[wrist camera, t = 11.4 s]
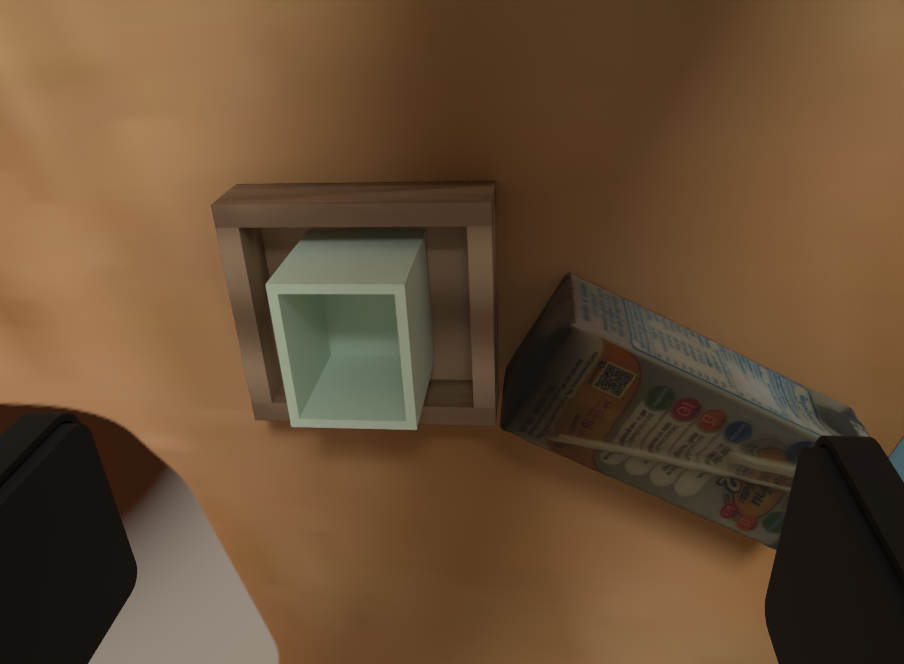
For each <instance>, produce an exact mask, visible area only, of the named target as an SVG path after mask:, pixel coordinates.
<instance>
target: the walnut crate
mask: <svg viewBox="0 0 904 664" xmlns="http://www.w3.org/2000/svg"><path fill="white" fill-rule="evenodd" d="M211 208H212V213H213V218H214V222H215V227H216V232H217V237H218V242H219V247H220V252H221V256H222V261H223V266H224V271H225V276H226V281H227V286H228V290H229V295H230V300H231V305H232V310H233V315H234V320H235V324H236V329H237V334H238V339H239V344H240V349H241V354H242V358H243V363H244V368H245V373H246V378H247V383H248V387H249V392H250V397H251V402H252V407H253V412H254V417H255V420H276V421H290V417H289V412H288V406H287V401H286V395H285V390H284V384H283V379H282V373H281V368H280V362H279V357H278V351H277V346H276V340H275V335H274V329H273V324H272V318H271V313H270V307H269V302H268V296H267V291H266V285H265V284H266V283H267V282H268V280H269V279H270V278H271V276H272V275H273V274H274V273H275V271H276V270H277V269H278V268H279V266H280V265H281V264H282V263H283V261H284V260H285V259H286V257H287V256H288V255H289V254H290V252H291V251H292V250H293V249H294V247H295V246H296V245H297V243H298V242H299V241H300V240H301V238H302V237H303V236H304V235H305V233H306V232H307V231H346V230H426V240H427V255H428V270H429V285H430V300H431V315H432V330H433V345H434V363H433V367H432V371H431V375H430V379H429V383H428V387H427V391H426V395H425V399H424V403H423V407H422V411H421V415H420V419H419V423H418V424H435V425H474V426H496V417H497V406H498V395H499V376H498V318H497V260H496V202H495V181H456V182H378V183H299V184H236V185H235V186H234V187H232V188H231V189H230V190H229V191H227V192H226V193H225V194H224V195H223V196H221V197H220V198H219V199H218V200H216V201H215V202H214V203H213V204H212V205H211Z"/></svg>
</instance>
